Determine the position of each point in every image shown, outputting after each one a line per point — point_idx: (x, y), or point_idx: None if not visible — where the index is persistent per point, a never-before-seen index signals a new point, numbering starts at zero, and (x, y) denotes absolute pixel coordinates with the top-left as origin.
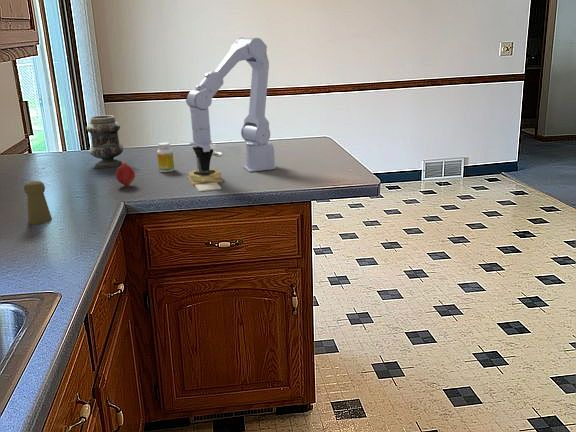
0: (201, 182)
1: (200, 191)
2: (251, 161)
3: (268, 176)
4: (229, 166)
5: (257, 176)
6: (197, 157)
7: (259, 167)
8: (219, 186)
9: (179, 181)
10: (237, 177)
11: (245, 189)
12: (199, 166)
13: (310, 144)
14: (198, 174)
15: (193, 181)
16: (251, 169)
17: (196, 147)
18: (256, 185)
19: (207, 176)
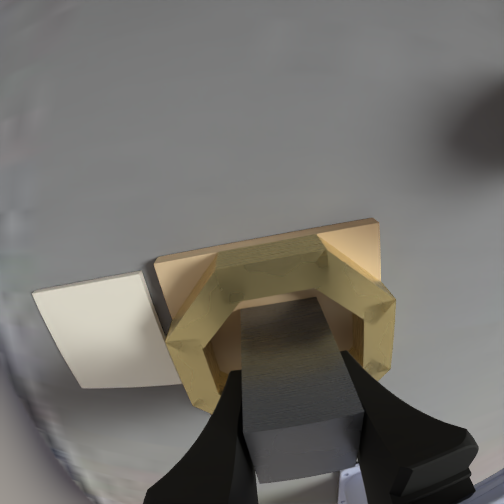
0: (172, 316)
1: (36, 297)
2: (364, 498)
3: None
4: (469, 396)
5: (268, 483)
6: (303, 427)
7: (345, 492)
8: (102, 386)
9: (303, 157)
10: None
11: (90, 442)
12: (242, 379)
13: None
14: (281, 318)
15: (200, 268)
16: (356, 472)
17: (423, 483)
18: (141, 471)
19: (180, 373)
